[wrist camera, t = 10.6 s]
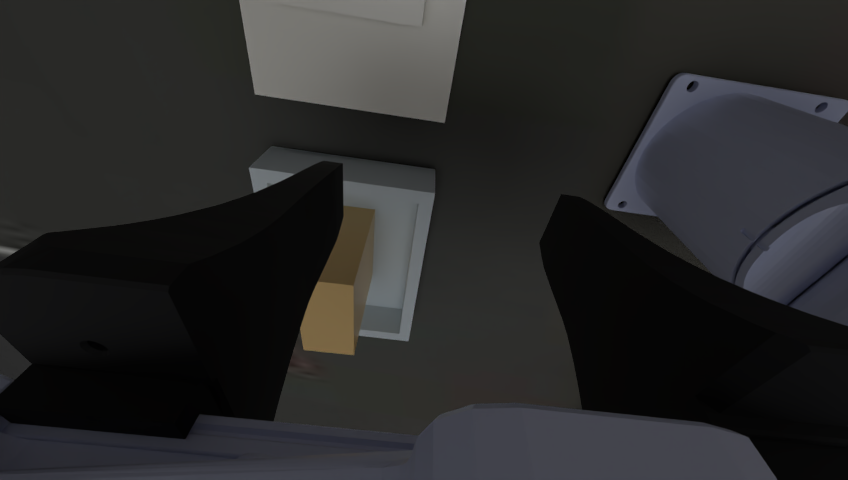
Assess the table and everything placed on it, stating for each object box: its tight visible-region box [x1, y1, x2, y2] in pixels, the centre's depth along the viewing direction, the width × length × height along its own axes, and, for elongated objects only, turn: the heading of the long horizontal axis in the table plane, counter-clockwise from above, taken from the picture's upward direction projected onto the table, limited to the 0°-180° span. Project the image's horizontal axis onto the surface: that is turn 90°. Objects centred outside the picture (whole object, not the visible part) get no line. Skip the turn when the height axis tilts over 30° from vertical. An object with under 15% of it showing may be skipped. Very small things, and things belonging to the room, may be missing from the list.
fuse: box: [300, 206, 375, 355], centre depth 21 cm, size 3×6×7 cm, turn 173°
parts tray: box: [249, 146, 435, 341], centre depth 23 cm, size 10×14×3 cm
